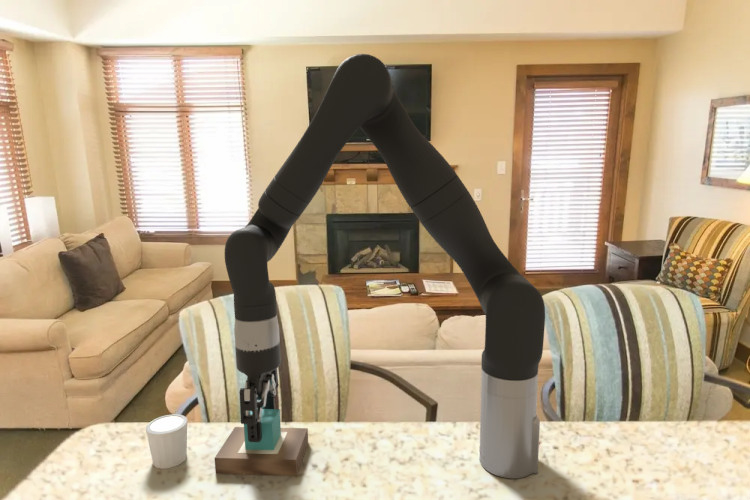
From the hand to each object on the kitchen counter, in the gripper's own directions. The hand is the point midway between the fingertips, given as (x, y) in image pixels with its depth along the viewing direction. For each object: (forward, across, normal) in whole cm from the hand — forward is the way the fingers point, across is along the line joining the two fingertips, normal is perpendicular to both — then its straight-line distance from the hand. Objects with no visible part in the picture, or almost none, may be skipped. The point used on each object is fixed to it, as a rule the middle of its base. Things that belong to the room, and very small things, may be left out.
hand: (262, 427), depth 86 cm
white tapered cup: (+6, -1, +17) cm, 18 cm away
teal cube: (+3, 0, 0) cm, 3 cm away
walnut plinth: (+6, 0, 0) cm, 6 cm away
